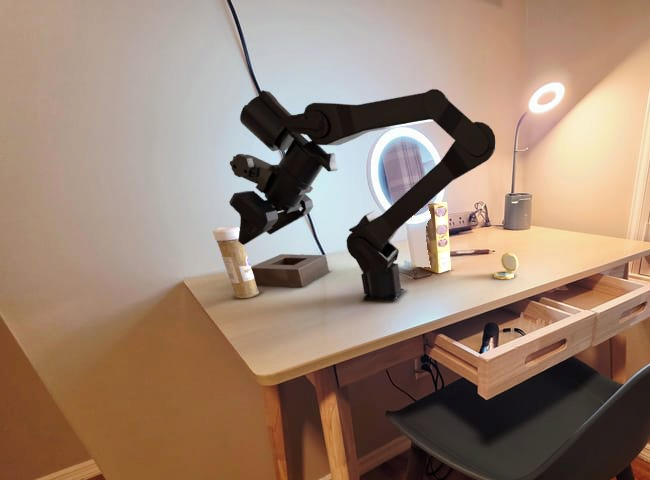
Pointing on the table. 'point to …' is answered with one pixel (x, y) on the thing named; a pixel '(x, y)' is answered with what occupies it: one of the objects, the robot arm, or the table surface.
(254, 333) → the table surface
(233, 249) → the sprinkles bottle
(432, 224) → the candy box
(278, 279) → the holder
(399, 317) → the table surface
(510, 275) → the eyeshadow
